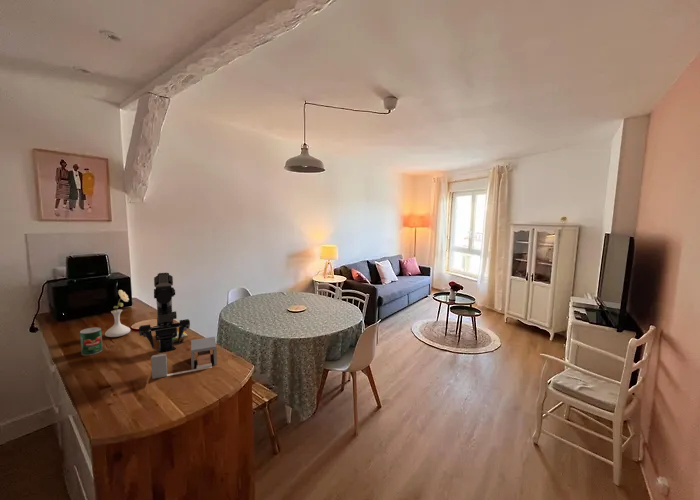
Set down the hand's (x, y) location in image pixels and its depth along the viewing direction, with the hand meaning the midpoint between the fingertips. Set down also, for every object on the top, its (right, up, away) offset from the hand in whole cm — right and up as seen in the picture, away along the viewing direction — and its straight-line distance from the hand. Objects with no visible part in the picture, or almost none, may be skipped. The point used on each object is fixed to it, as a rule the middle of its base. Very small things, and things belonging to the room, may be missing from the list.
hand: (166, 346), depth 128 cm
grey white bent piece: (+6, -11, +3) cm, 13 cm away
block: (+13, -10, +7) cm, 18 cm away
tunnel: (+11, -11, +10) cm, 19 cm away
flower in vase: (-51, -6, +40) cm, 65 cm away
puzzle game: (-19, -8, +36) cm, 42 cm away
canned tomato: (-48, -9, +19) cm, 52 cm away
